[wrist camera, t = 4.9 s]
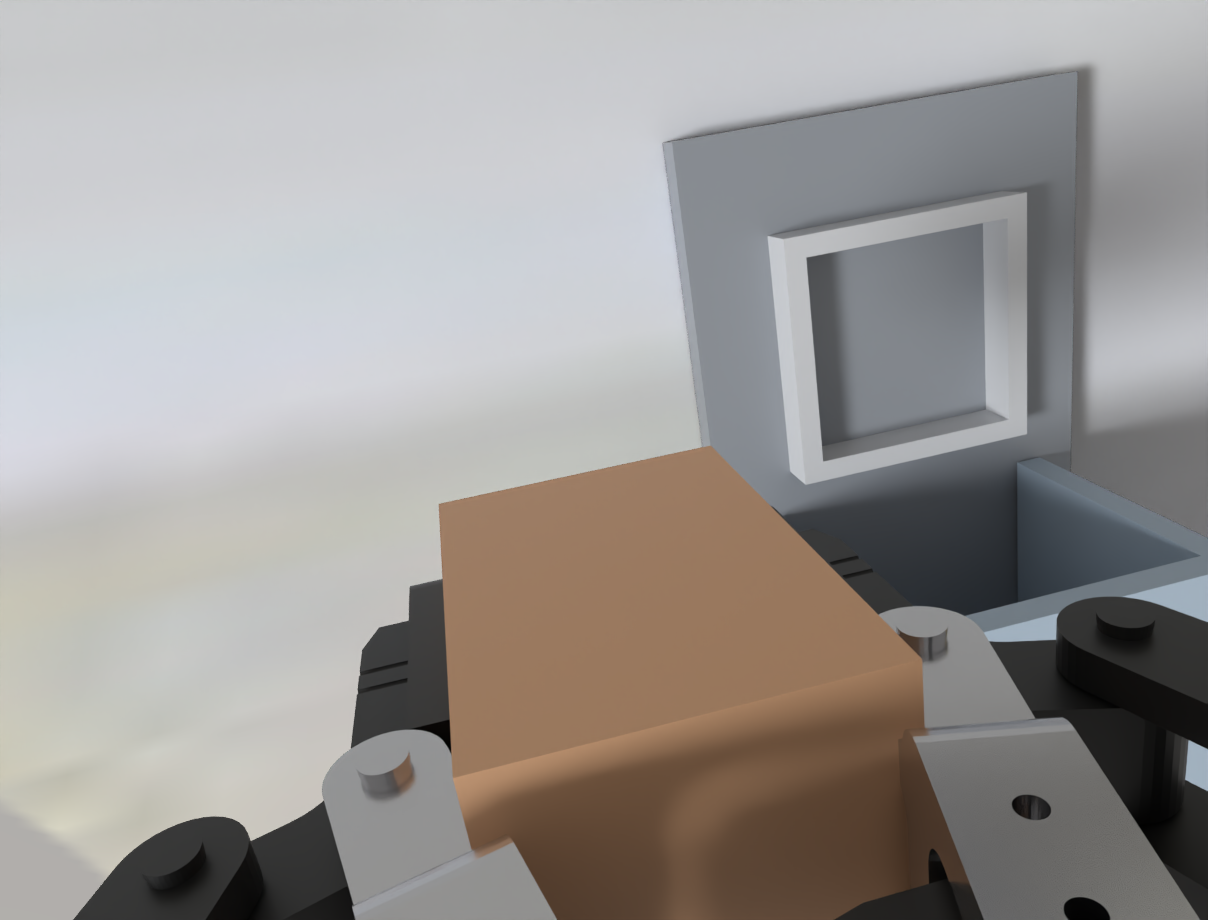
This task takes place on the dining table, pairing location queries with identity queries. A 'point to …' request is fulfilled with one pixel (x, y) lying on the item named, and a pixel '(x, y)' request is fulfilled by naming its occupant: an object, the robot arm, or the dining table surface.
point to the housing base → (889, 321)
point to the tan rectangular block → (672, 699)
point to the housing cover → (1095, 562)
